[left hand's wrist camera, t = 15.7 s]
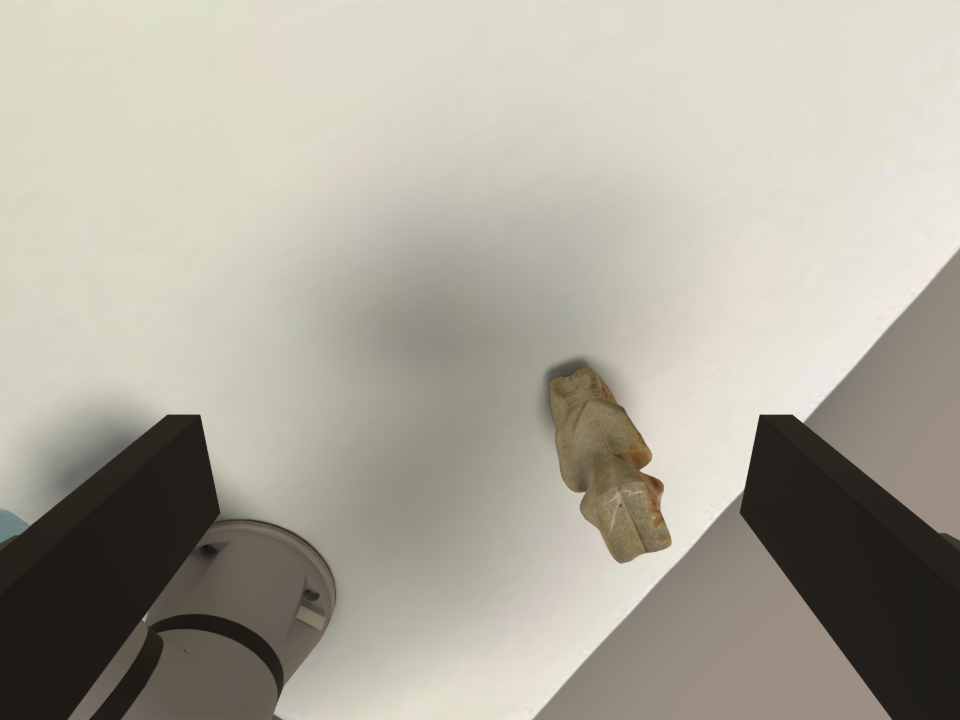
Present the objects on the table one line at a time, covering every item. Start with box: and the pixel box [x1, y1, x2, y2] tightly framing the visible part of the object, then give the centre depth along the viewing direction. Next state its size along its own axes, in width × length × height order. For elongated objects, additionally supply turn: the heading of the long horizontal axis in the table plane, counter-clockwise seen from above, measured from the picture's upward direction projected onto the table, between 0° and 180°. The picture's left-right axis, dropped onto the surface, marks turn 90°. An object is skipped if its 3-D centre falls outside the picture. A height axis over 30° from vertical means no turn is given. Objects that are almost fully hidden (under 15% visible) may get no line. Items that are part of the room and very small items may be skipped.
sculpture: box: [549, 367, 672, 563], centre depth 35 cm, size 6×7×15 cm
